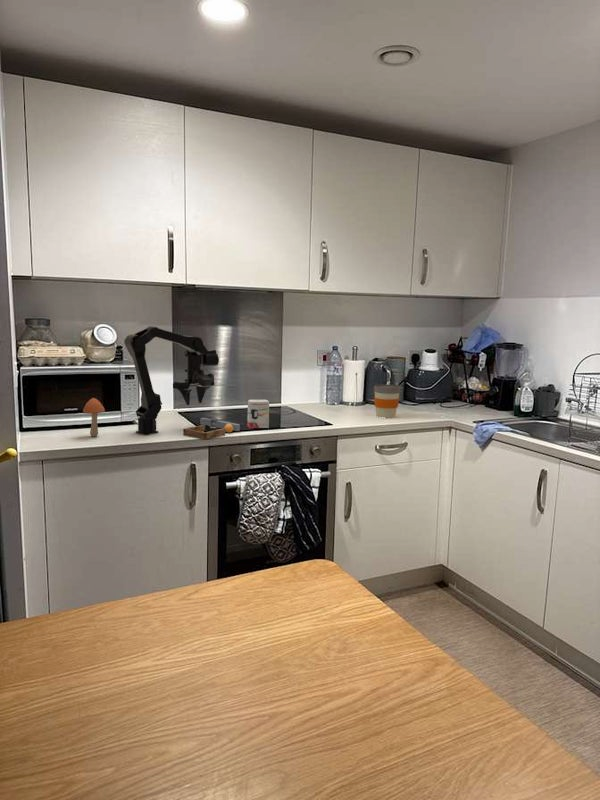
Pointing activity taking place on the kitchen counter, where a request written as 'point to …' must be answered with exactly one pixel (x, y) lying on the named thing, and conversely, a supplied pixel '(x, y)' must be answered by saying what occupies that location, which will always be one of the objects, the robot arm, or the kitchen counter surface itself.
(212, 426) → the post
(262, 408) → the ink box
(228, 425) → the ball
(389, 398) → the reusable coffee cup
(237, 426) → the lever
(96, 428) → the mushroom
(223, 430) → the wooden tray
